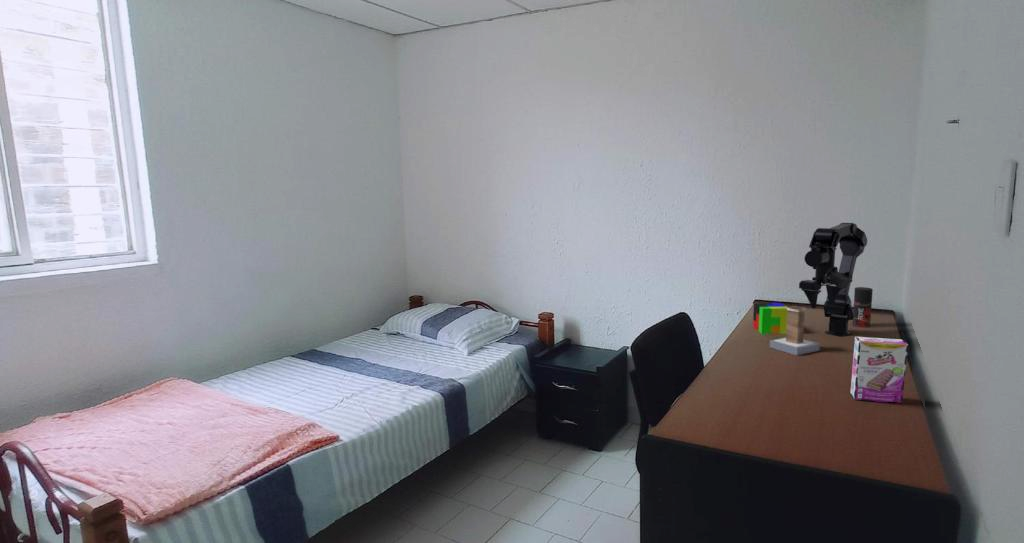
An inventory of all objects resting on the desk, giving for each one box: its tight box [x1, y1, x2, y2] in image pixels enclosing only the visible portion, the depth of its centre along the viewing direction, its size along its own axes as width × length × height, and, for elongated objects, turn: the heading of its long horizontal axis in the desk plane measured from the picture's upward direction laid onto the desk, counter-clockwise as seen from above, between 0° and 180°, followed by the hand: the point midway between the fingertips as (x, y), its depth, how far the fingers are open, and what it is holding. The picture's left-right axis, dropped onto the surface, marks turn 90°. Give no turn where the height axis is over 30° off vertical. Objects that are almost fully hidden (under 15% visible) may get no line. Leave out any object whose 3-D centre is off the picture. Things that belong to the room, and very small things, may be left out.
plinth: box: [769, 336, 821, 356], centre depth 191 cm, size 11×11×3 cm
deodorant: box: [852, 286, 873, 329], centre depth 217 cm, size 6×6×15 cm
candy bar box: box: [850, 336, 909, 403], centre depth 145 cm, size 11×5×16 cm, turn 71°
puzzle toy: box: [752, 302, 788, 335], centre depth 215 cm, size 10×10×10 cm
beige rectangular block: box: [785, 305, 806, 344], centre depth 190 cm, size 4×4×12 cm
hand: (822, 306), depth 197 cm, fingers open, 9 cm apart
